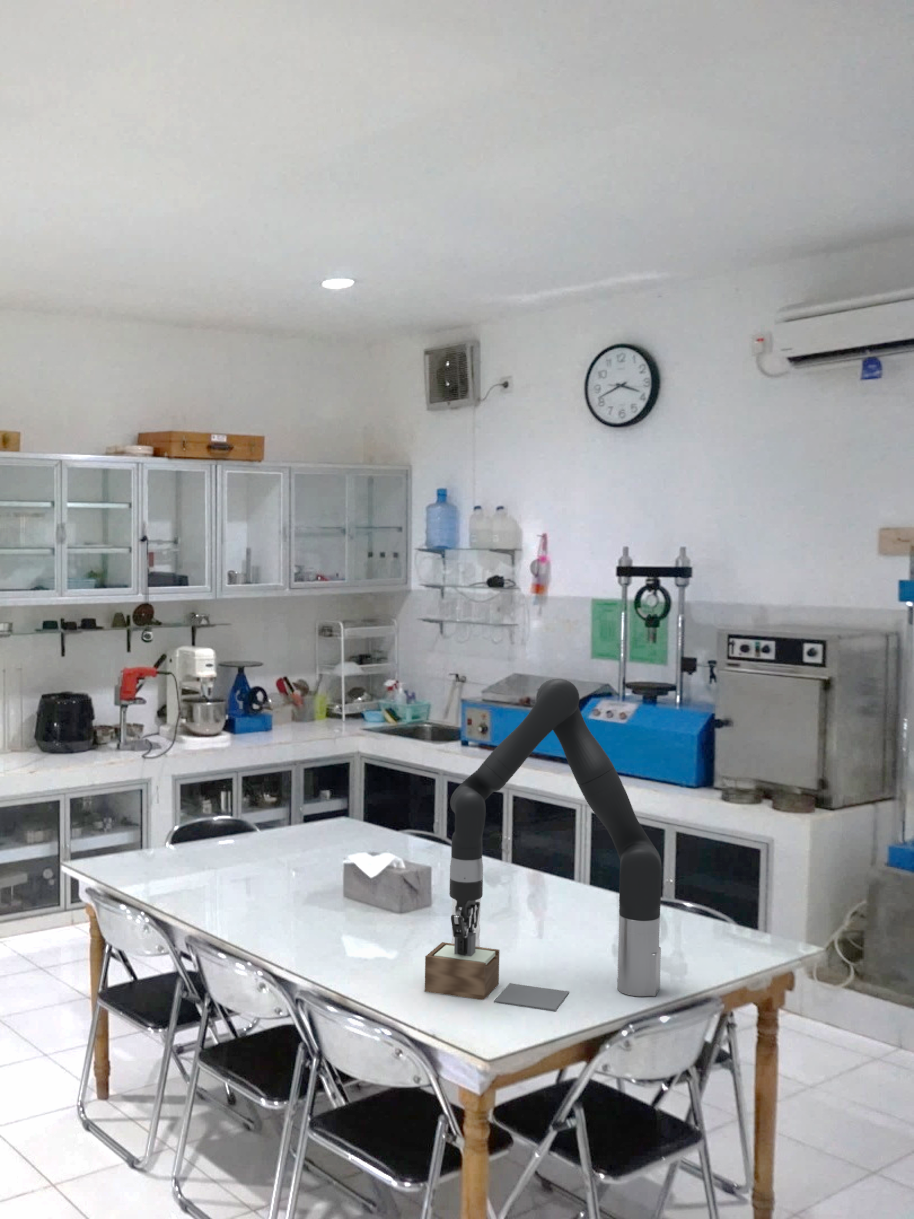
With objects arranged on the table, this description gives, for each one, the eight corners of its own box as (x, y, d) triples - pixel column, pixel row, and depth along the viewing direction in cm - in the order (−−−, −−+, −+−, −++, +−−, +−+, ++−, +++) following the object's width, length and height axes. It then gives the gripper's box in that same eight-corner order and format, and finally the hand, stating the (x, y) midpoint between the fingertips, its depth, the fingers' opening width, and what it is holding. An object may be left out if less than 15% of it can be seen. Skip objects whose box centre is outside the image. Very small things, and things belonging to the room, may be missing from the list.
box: (498, 984, 281) (499, 949, 280) (483, 1000, 270) (484, 964, 270) (441, 975, 285) (442, 942, 285) (424, 991, 275) (425, 956, 275)
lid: (495, 955, 279) (495, 931, 279) (484, 966, 272) (484, 942, 271) (445, 949, 283) (446, 925, 283) (433, 959, 276) (434, 935, 275)
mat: (569, 993, 276) (569, 991, 276) (555, 1011, 264) (555, 1009, 264) (509, 984, 280) (509, 983, 280) (493, 1002, 269) (493, 1000, 269)
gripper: (472, 885, 269) (470, 963, 269) (491, 870, 282) (490, 944, 283) (440, 882, 271) (438, 959, 272) (460, 867, 284) (459, 940, 285)
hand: (464, 951), depth 277 cm, fingers closed on lid, 3 cm apart
